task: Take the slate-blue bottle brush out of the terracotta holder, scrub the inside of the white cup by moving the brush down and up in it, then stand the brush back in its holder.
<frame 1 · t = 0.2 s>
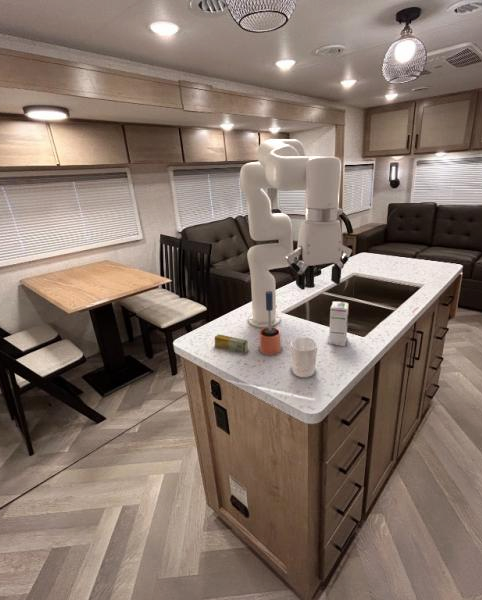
hand: (318, 285, 80), 31 cm above the countertop, tool pointing down, fingers open, 9 cm apart
bottle brush: (270, 348, 111), resting on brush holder
medication box: (231, 349, 112), on the countertop
white cup: (303, 372, 99), on the countertop
syrup box: (337, 341, 115), on the countertop
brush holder: (270, 349, 111), on the countertop
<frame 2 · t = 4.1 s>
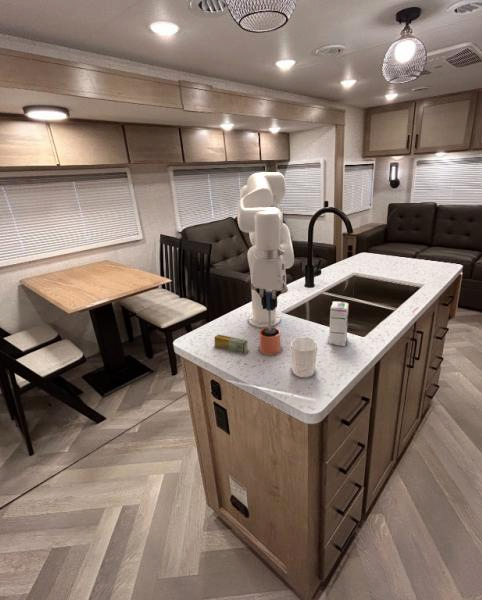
hand: (269, 307, 104), 16 cm above the countertop, tool pointing down, fingers closed on bottle brush, 2 cm apart
bottle brush: (270, 348, 111), point 1 cm above the countertop, touching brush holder, gripper
everything else where it was.
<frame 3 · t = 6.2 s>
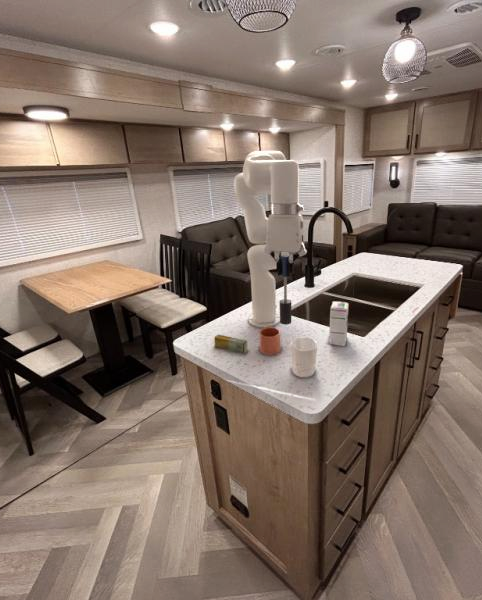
hand: (285, 274, 93), 30 cm above the countertop, tool pointing down, fingers closed on bottle brush
bottle brush: (285, 322, 99), point 14 cm above the countertop, touching gripper
everything else where it was.
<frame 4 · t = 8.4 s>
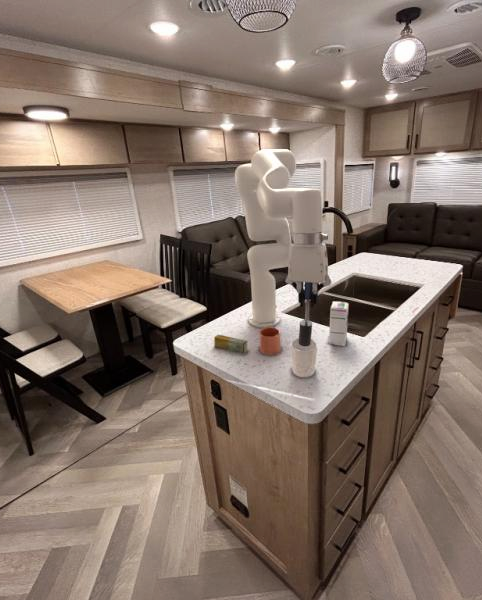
hand: (308, 305, 89), 23 cm above the countertop, tool pointing down, fingers closed on bottle brush, 2 cm apart
bottle brush: (304, 343, 95), point 10 cm above the countertop, touching white cup, gripper
white cup: (303, 372, 99), on the countertop, touching bottle brush
everything else where it was.
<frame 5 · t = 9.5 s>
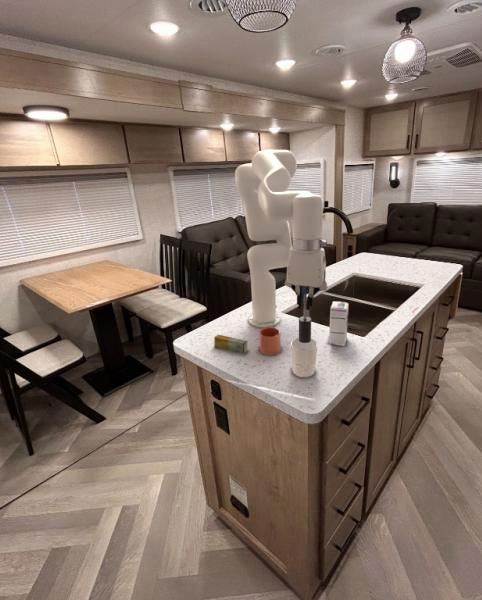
hand: (305, 307, 91), 22 cm above the countertop, tool pointing down, fingers closed on bottle brush
bottle brush: (304, 340, 95), point 11 cm above the countertop, touching gripper
white cup: (303, 372, 99), on the countertop
everything else where it was.
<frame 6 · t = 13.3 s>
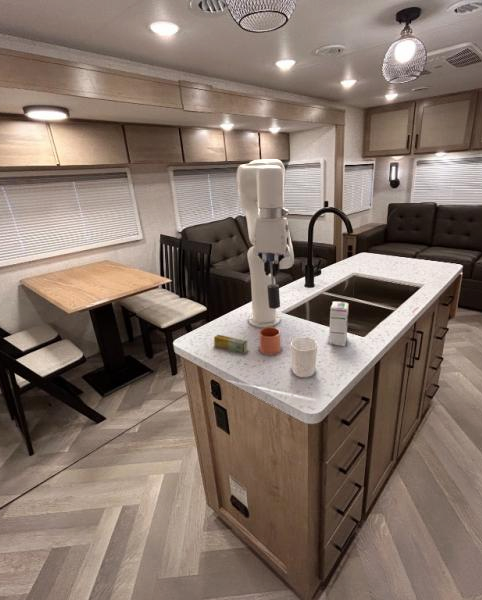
hand: (272, 274, 99), 28 cm above the countertop, tool pointing down, fingers closed on bottle brush
bottle brush: (274, 306, 102), point 18 cm above the countertop, touching gripper
everything else where it was.
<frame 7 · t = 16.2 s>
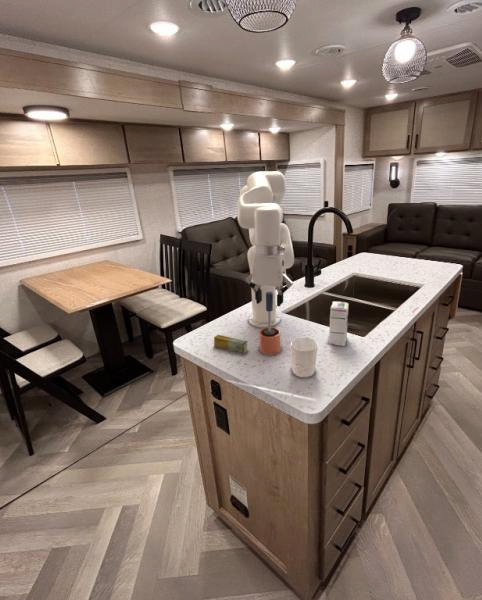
hand: (269, 303, 104), 18 cm above the countertop, tool pointing down, fingers open, 6 cm apart
bottle brush: (269, 349, 110), point 1 cm above the countertop, touching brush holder
everything else where it was.
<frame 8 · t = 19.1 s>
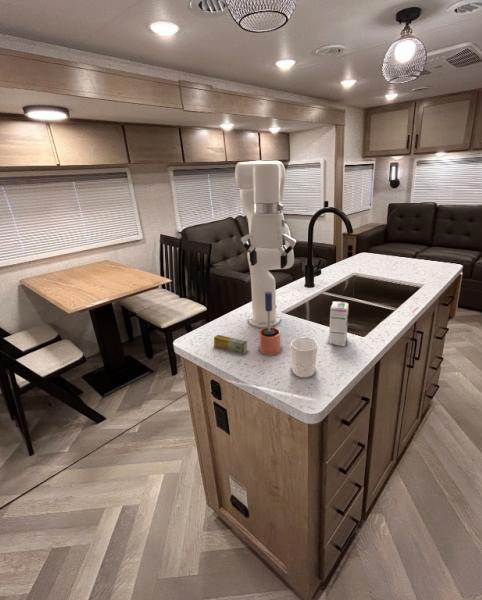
hand: (268, 265, 99), 30 cm above the countertop, tool pointing down, fingers open, 9 cm apart
nothing on the countertop moved.
at the end: bottle brush 0.6 cm off-centre in the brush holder, point 0.5 cm above the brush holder's base; white cup tilted 0°; white cup moved 0.2 cm from its start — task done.
